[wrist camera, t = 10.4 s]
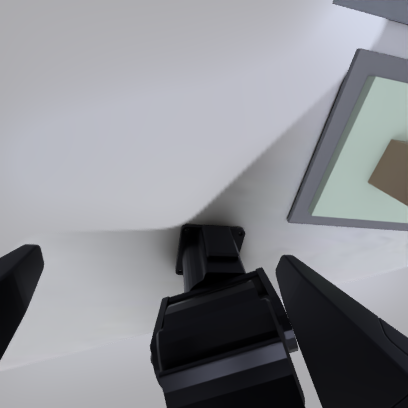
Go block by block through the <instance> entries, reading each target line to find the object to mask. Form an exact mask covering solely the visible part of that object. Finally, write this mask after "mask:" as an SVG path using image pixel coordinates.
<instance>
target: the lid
mask: <svg viewBox="0 0 408 408" xmlns="http://www.w3.org/2000/svg"><path fill="white" fill-rule="evenodd" d="M308 212H309V213H310V214H311V216H322V217H335V218H347V219H360V220H373V221H385V222H398V223H408V83H403V82H399V81H394V80H390V79H385V78H380V77H376V76H368V77H367V79H366V82H365V84H364V86H363V88H362V91H361V93H360V95H359V97H358V100H357V102H356V104H355V106H354V109H353V111H352V113H351V115H350V117H349V120H348V122H347V124H346V126H345V129H344V131H343V133H342V135H341V138H340V140H339V142H338V144H337V146H336V149H335V151H334V153H333V155H332V158H331V160H330V162H329V164H328V167H327V169H326V171H325V173H324V176H323V178H322V180H321V182H320V184H319V187H318V189H317V191H316V193H315V196H314V198H313V200H312V202H311V205H310V207H309V209H308Z"/></svg>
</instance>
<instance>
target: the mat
mask: <svg viewBox="0 0 408 408" xmlns="http://www.w3.org/2000/svg"><path fill="white" fill-rule="evenodd" d="M368 76H376V77H380V78H385V79H390V80H394V81H399V82H403V83H408V60H406V59H402V58H398V57H394V56H390V55H386V54H381V53H377V52H373V51H369V50H365V49H357V50H356V52H355V55H354V58H353V60H352V62H351V65H350V67H349V70H348V72H347V75H346V77H345V80H344V82H343V85H342V87H341V89H340V92H339V94H338V97H337V99H336V102H335V104H334V107H333V109H332V112H331V114H330V117H329V119H328V121H327V124H326V126H325V129H324V131H323V134H322V136H321V139H320V141H319V144H318V146H317V149H316V151H315V153H314V156H313V158H312V161H311V163H310V166H309V168H308V171H307V173H306V176H305V178H304V181H303V183H302V185H301V188H300V190H299V193H298V195H297V198H296V200H295V203H294V205H293V208H292V210H291V213H290V215H289V217H288V220H287V221H288V222H289V223H299V224H314V225H328V226H342V227H357V228H371V229H385V230H400V231H408V223H398V222H385V221H373V220H360V219H347V218H335V217H322V216H311V214H310V213H309V212H308V209H309V207H310V205H311V202H312V200H313V198H314V196H315V193H316V191H317V189H318V187H319V184H320V182H321V180H322V178H323V176H324V173H325V171H326V169H327V167H328V164H329V162H330V160H331V158H332V155H333V153H334V151H335V149H336V146H337V144H338V142H339V140H340V138H341V135H342V133H343V131H344V129H345V126H346V124H347V122H348V120H349V117H350V115H351V113H352V111H353V109H354V106H355V104H356V102H357V100H358V97H359V95H360V93H361V91H362V88H363V86H364V84H365V82H366V79H367V77H368Z"/></svg>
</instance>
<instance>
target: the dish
mask: <svg viewBox="0 0 408 408" xmlns="http://www.w3.org/2000/svg"><path fill="white" fill-rule="evenodd" d="M333 4H336V5H340V6H343V7H347V8H351V9H354V10H358V11H361V12H365V13H369V14H373V15H376V16H380V17H383V18H387V19H390V20H394V21H398V22H401V23H405V24H408V0H334V1H333Z"/></svg>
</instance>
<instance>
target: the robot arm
mask: <svg viewBox="0 0 408 408" xmlns="http://www.w3.org/2000/svg"><path fill="white" fill-rule="evenodd" d="M185 229H189V230H185ZM239 232H241V233H240V234H239ZM244 236H245V231H244V229H243V228H238V227H228V226H214V225H191V224H185V225H183V226H182V228H181V234H180V241H179V248H178V255H177V262H176V274H178V275H183V277H184V292H185V293H182V294H179V295H176V296H173V297H165V298H163V299H162V302H161V306H160V309H159V313H158V317H157V321H156V324H155V328H154V332H153V336H152V340H151V344H150V350H151V363H152V364H153V367H154V372H155V375H156V378H157V381H158V383H159V385H160V386H161V387H162V389H163V392H164V396H165V401H166V406H167V408H305V406H304V405H305V398H304V394H303V391H302V388H301V385H300V383H299V380H298V377H297V374H296V371H295V368H294V365H293V363H292V360H291V357H290V354H289V353H292V352H295V351H298V345H299V347H300V350H301V352H302V355H303V358H304V360H305V363H306V366H307V368H308V371H309V373H310V376H311V379H312V381H313V384H314V387H315V389H316V392H317V394H318V397H319V400H320V402H321V405H322V407H323V408H408V338H407V337H406V336H405V335H403V334H402V333H400V332H399V331H398V330H396V329H394V328H393V327H392V326H390V325H389V324H387V323H386V322H385V321H384V320H382V319H381V318H378V316H377V315H375V314H374V313H372V312H371V311H370V310H368V309H366V308H365V307H364V306H363V305H361V304H360V303H358V302H357V301H356V300H354V299H353V298H351V297H350V296H349V295H347V294H346V293H345V292H343V291H342V290H340V289H339V288H337V287H336V286H335V285H333V284H332V283H331V282H329V281H328V280H326V279H325V278H324V277H322V276H321V275H320V274H318V273H317V272H315V271H314V270H313V269H311V268H310V267H308V266H307V265H306V264H304V263H303V262H301V261H300V260H299V259H297V258H296V257H294V256H293V255H283V256H281V258H280V261H279V263H278V265H277V268H276V277H277V281H278V285H279V288H280V292H281V296H282V300H283V303H284V306H285V309H284V307H283V305H282V302H281V300H280V298H279V296H278V295H277V293H276V291H275V289H274V288H273V286H272V284H271V282H270V280H269V279H268V277H267V275H266V273H265V272H264V270H263V268H262V267H261V268H258V269H256V271H252V272H249V273H246V272H245V269H244V267H243V264H242V261H241V258H240V256H239V252H240V249H241V246H242V243H243V240H244ZM43 268H44V261H43V256H42V252H41V248H40V246H39V245H32V244H25V245H23V246H21V247H19V248H17V249H15V250H14V251H12V252H10V253H8V254H6V255H4V256H3V257H1V258H0V360H1V358H2V356H3V354H4V353H5V351H6V349H7V347H8V345H9V343H10V341H11V339H12V338H13V336H14V334H15V332H16V330H17V328H18V326H19V324H20V323H21V321H22V319H23V317H24V315H25V313H26V311H27V308H28V306H29V304H30V301H31V299H32V296H33V294H34V291H35V289H36V286H37V284H38V281H39V278H40V276H41V273H42V271H43ZM179 270H181V271H179ZM285 310H286V311H285ZM286 313H287V314H286ZM288 318H289V319H288ZM290 323H291V324H290ZM293 331H294V332H293ZM294 334H295V335H294ZM295 337H296V338H295ZM296 339H297V341H296ZM297 342H298V345H297Z"/></svg>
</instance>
